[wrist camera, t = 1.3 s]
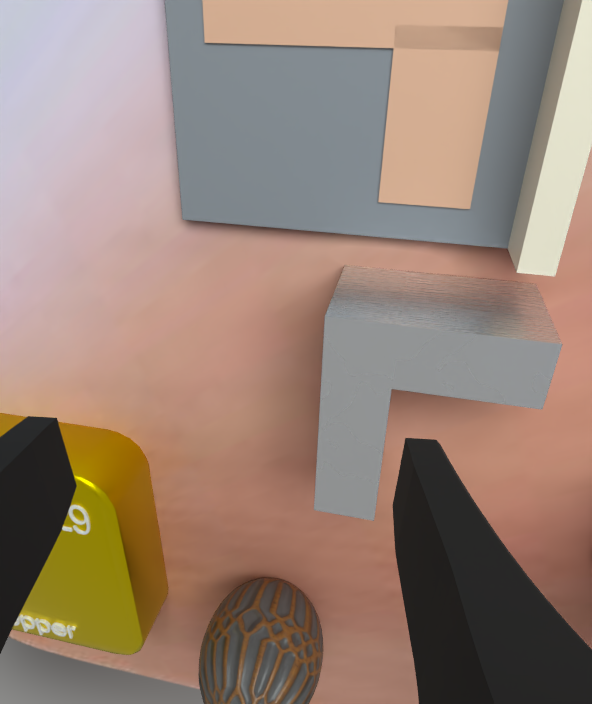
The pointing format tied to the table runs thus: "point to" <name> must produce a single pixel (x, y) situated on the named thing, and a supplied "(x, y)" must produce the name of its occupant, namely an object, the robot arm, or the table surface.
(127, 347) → the table surface
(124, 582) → the element tile
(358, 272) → the bracket
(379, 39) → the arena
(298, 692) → the vase
